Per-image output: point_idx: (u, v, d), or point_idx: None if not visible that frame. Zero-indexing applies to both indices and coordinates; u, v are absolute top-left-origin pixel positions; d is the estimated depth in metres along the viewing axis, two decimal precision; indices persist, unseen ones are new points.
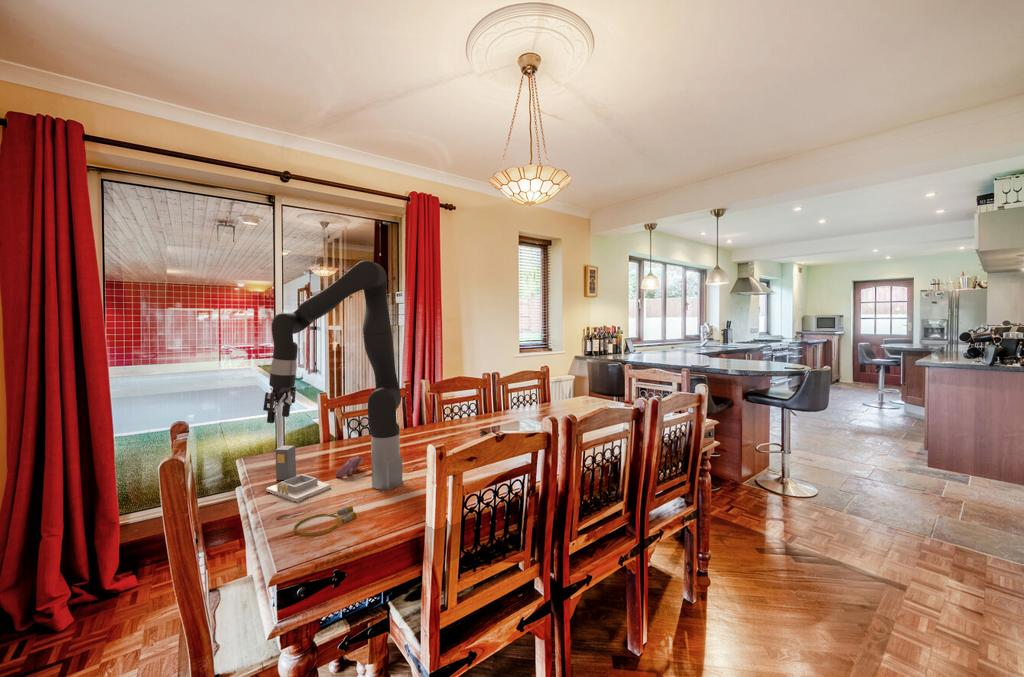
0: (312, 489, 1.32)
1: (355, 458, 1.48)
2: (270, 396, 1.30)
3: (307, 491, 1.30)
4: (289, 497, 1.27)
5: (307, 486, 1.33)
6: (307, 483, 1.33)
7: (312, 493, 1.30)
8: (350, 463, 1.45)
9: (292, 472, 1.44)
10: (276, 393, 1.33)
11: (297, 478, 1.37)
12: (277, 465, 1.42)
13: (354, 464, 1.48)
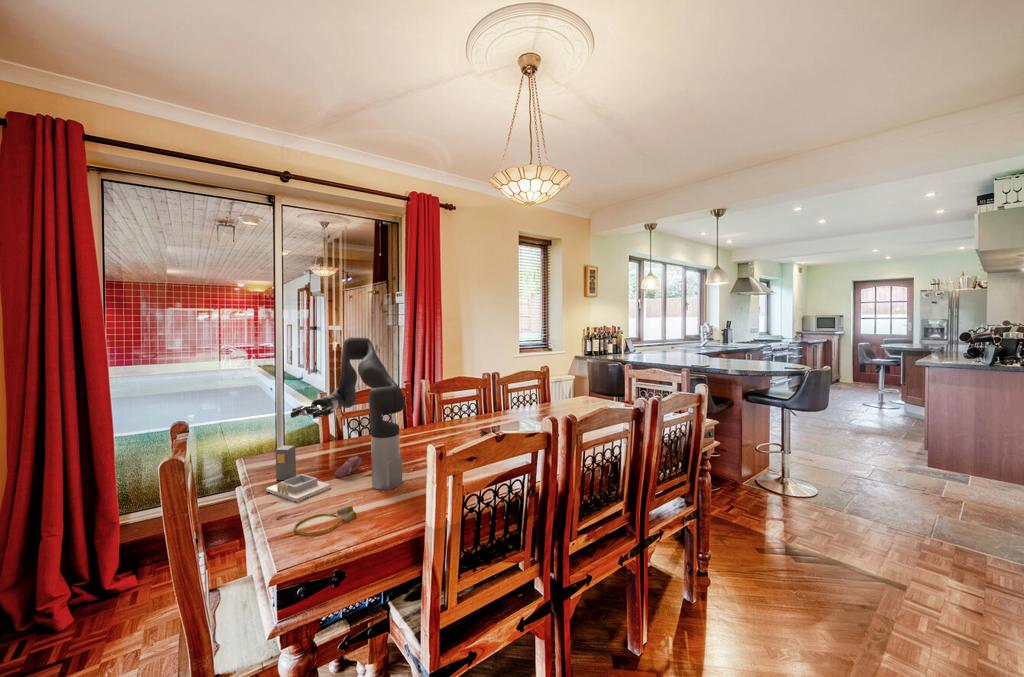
0: (312, 489, 1.32)
1: (354, 458, 1.48)
2: None
3: (307, 491, 1.30)
4: (289, 497, 1.27)
5: (307, 486, 1.33)
6: (307, 483, 1.33)
7: (312, 493, 1.30)
8: (349, 463, 1.45)
9: (292, 472, 1.44)
10: None
11: (297, 478, 1.37)
12: (277, 465, 1.42)
13: (353, 464, 1.48)
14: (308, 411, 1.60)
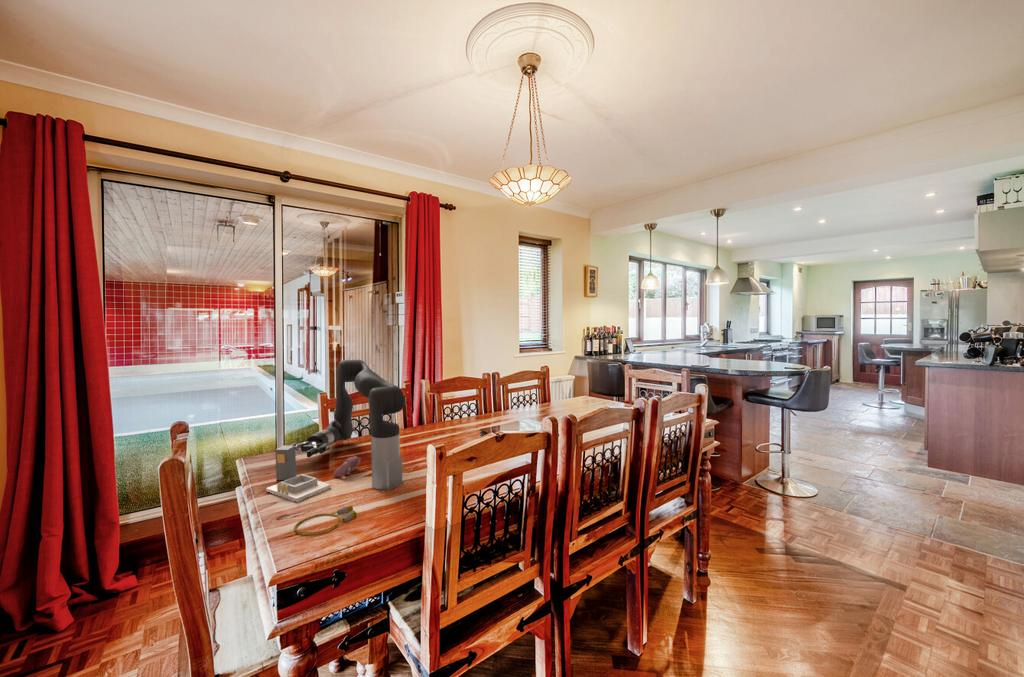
0: (312, 489, 1.32)
1: (353, 458, 1.48)
2: None
3: (307, 491, 1.30)
4: (289, 497, 1.27)
5: (307, 486, 1.33)
6: (307, 483, 1.33)
7: (312, 493, 1.30)
8: (348, 463, 1.45)
9: (292, 472, 1.44)
10: None
11: (297, 478, 1.37)
12: (277, 465, 1.42)
13: (352, 464, 1.48)
14: (302, 449, 1.56)
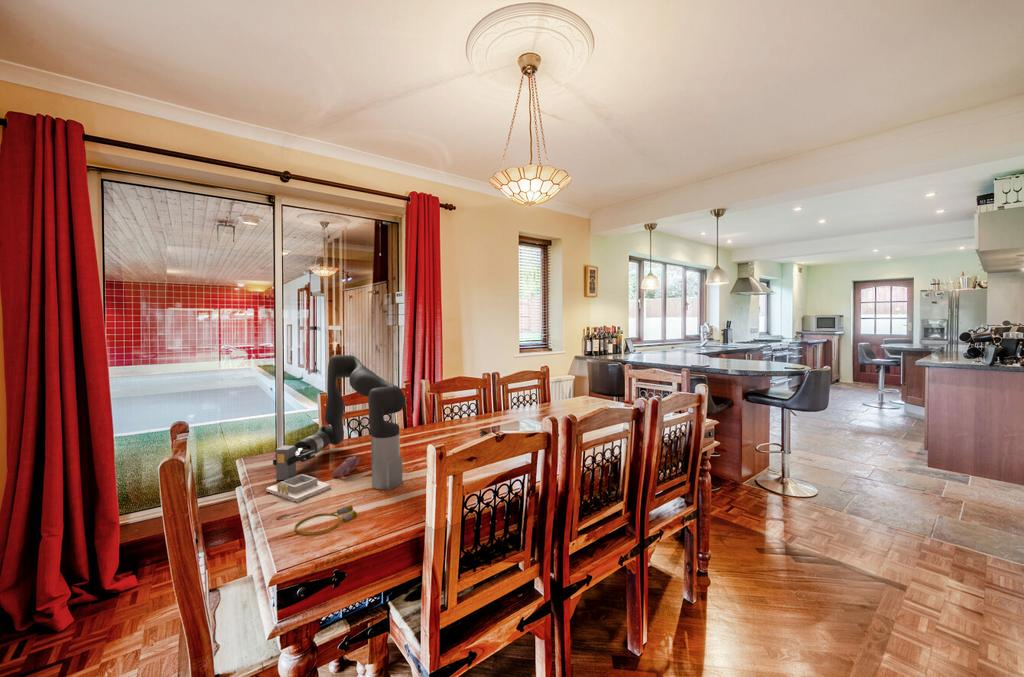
0: (312, 489, 1.32)
1: (352, 458, 1.49)
2: None
3: (307, 491, 1.30)
4: (289, 497, 1.27)
5: (307, 486, 1.33)
6: (307, 483, 1.33)
7: (312, 493, 1.30)
8: (347, 463, 1.45)
9: (292, 472, 1.44)
10: None
11: (297, 478, 1.37)
12: (277, 465, 1.42)
13: (351, 464, 1.48)
14: None
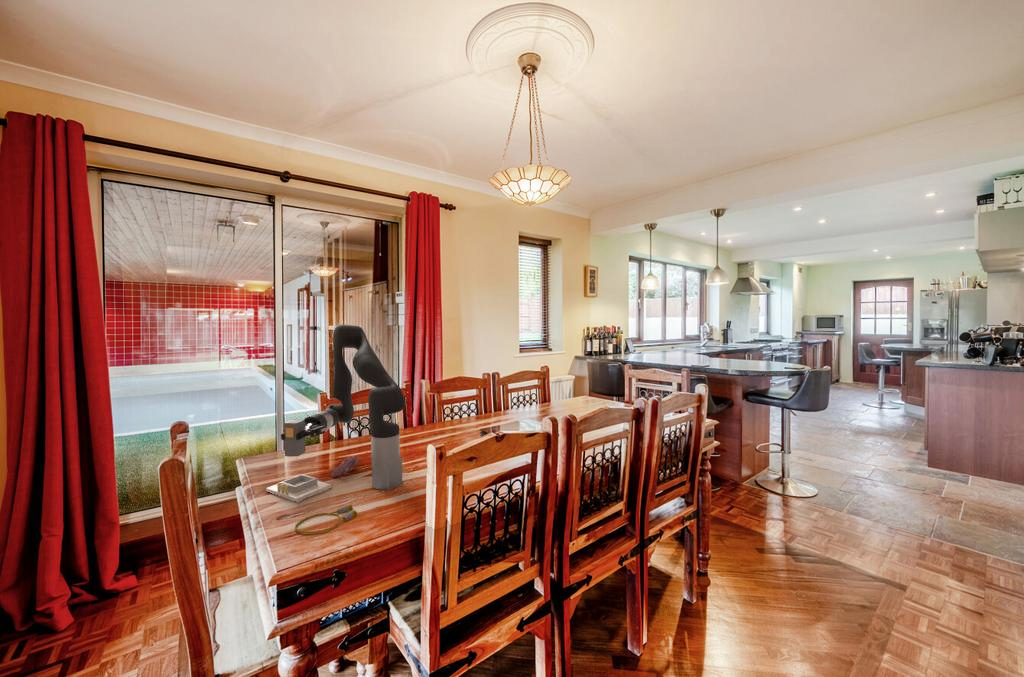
0: (312, 489, 1.32)
1: (351, 458, 1.49)
2: None
3: (307, 491, 1.30)
4: (289, 497, 1.27)
5: (307, 486, 1.33)
6: (307, 483, 1.33)
7: (312, 493, 1.30)
8: (346, 463, 1.45)
9: (301, 447, 1.35)
10: None
11: (297, 478, 1.37)
12: (285, 440, 1.33)
13: (350, 464, 1.48)
14: None
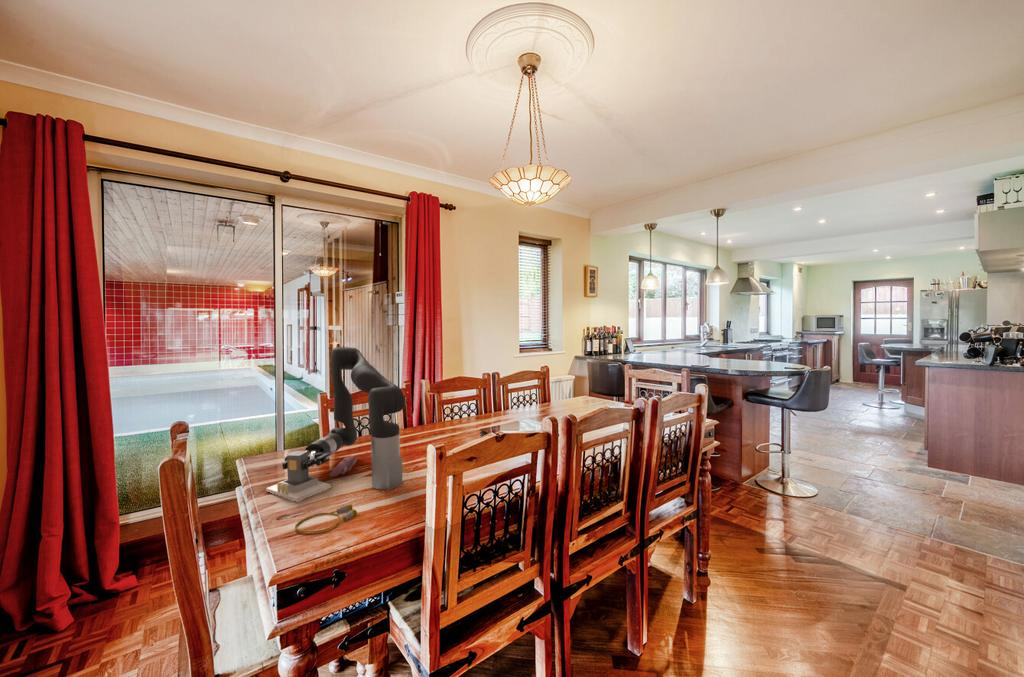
0: (312, 489, 1.32)
1: (349, 458, 1.49)
2: None
3: (307, 491, 1.30)
4: (289, 497, 1.27)
5: (307, 486, 1.33)
6: (307, 483, 1.33)
7: (312, 493, 1.30)
8: (344, 463, 1.45)
9: (304, 479, 1.34)
10: None
11: None
12: (289, 472, 1.32)
13: (348, 464, 1.48)
14: None
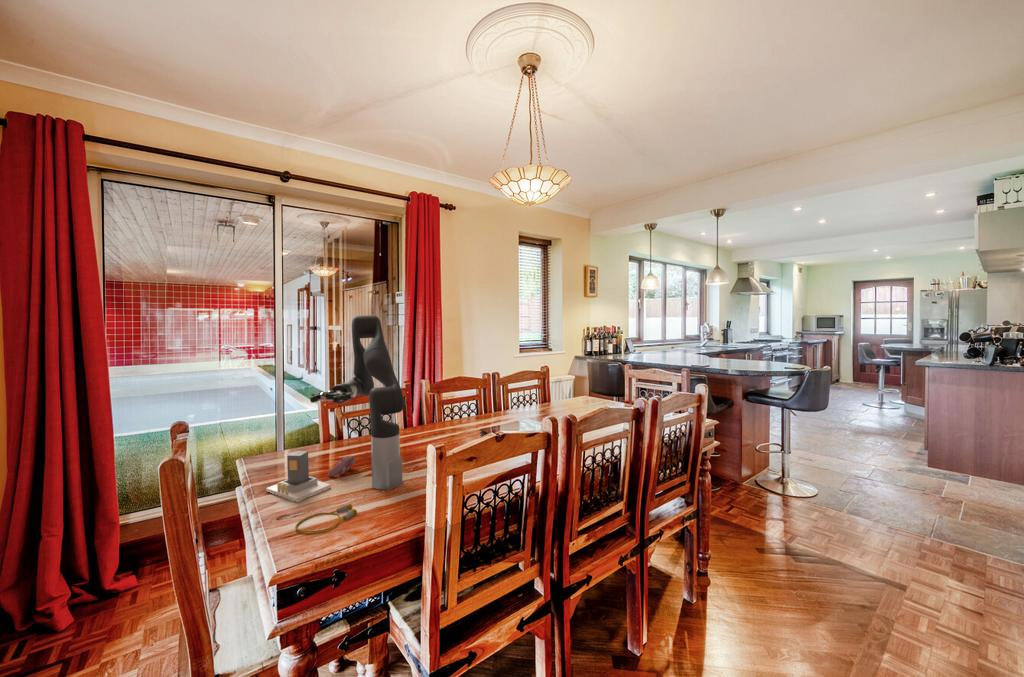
0: (312, 489, 1.32)
1: (348, 457, 1.49)
2: None
3: (307, 491, 1.30)
4: (289, 497, 1.27)
5: (307, 486, 1.33)
6: (307, 483, 1.33)
7: (312, 493, 1.30)
8: (343, 462, 1.46)
9: (304, 479, 1.34)
10: None
11: None
12: (289, 472, 1.32)
13: (347, 463, 1.49)
14: (328, 396, 1.56)
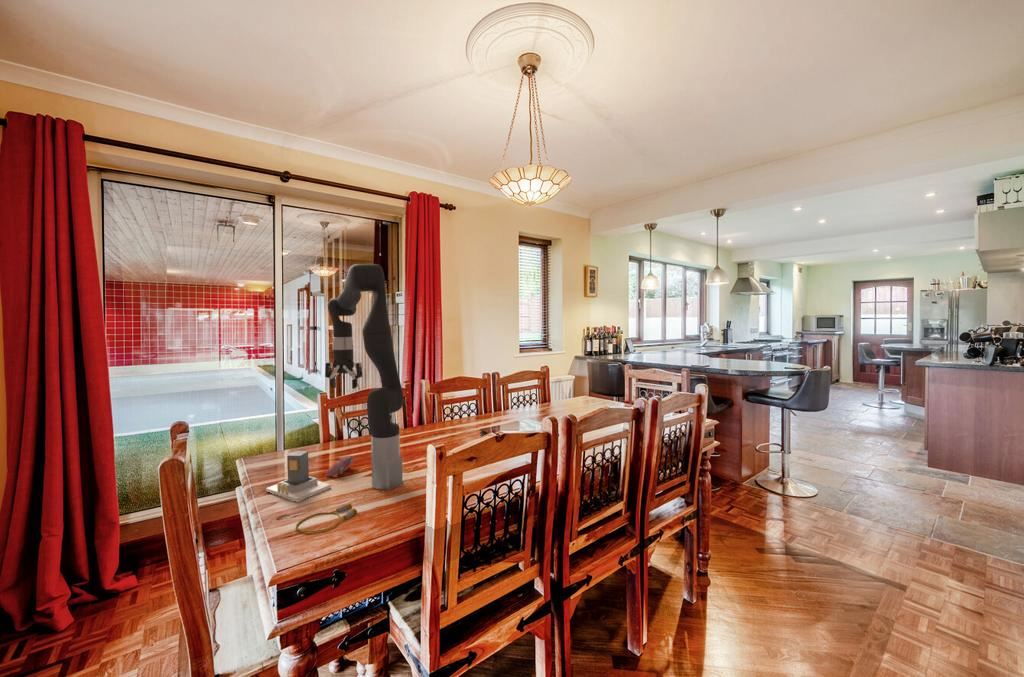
0: (312, 489, 1.32)
1: (346, 457, 1.49)
2: None
3: (307, 491, 1.30)
4: (289, 497, 1.27)
5: (307, 486, 1.33)
6: (307, 483, 1.33)
7: (312, 493, 1.30)
8: (341, 462, 1.46)
9: (304, 479, 1.34)
10: (332, 364, 1.63)
11: None
12: (289, 472, 1.32)
13: (345, 463, 1.49)
14: None
